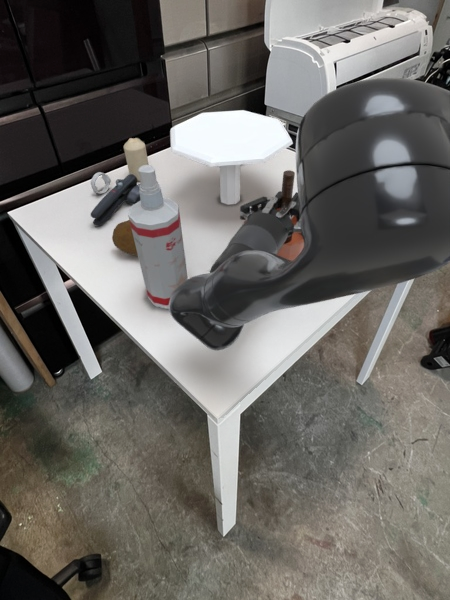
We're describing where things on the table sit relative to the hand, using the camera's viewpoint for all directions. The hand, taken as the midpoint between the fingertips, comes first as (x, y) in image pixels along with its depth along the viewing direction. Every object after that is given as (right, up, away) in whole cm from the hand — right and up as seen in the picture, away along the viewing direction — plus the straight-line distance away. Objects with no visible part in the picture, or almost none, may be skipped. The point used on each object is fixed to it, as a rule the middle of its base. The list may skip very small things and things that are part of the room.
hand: (291, 195), depth 71 cm
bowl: (-2, -9, +8) cm, 12 cm away
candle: (-36, +14, +31) cm, 49 cm away
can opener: (-39, +2, +20) cm, 43 cm away
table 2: (-11, +5, +22) cm, 25 cm away
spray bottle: (-23, -19, -1) cm, 30 cm away
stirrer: (-1, -7, +4) cm, 9 cm away
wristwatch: (-44, +8, +25) cm, 52 cm away
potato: (-30, -9, +8) cm, 32 cm away
